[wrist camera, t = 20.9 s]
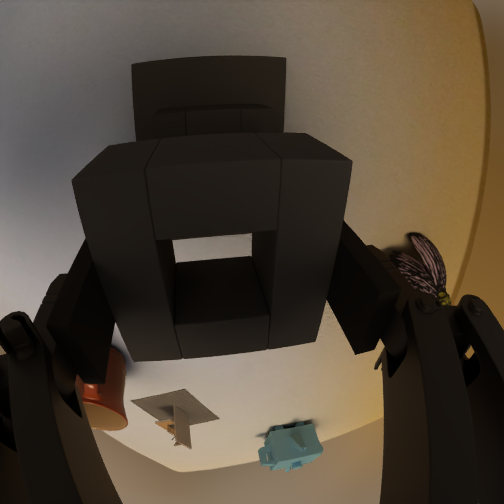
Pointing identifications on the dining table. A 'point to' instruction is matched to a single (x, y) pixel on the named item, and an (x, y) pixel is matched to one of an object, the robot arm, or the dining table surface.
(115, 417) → the mug
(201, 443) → the dining table surface
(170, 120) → the dark block with hole
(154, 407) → the architectural model
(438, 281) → the decorative flower
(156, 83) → the base pad
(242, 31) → the dining table surface
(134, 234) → the grey square-holed block
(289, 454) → the teapot
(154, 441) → the dining table surface
